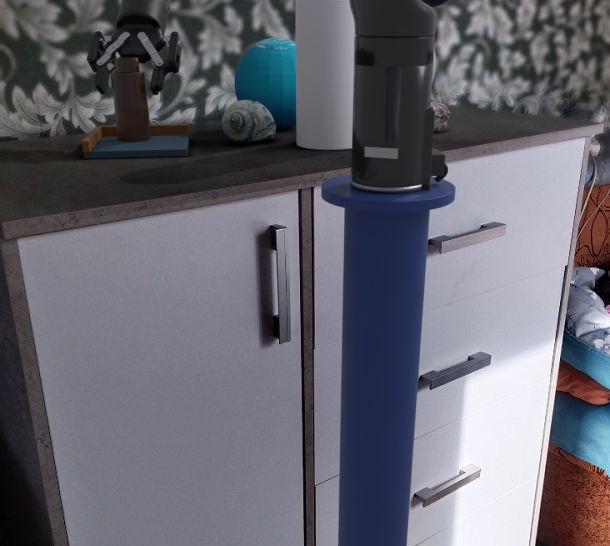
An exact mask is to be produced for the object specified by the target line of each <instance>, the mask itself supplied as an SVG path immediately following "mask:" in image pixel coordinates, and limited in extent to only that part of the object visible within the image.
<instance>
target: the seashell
mask: <svg viewBox="0 0 610 546" xmlns="http://www.w3.org/2000/svg"><path fill="white" fill-rule="evenodd" d="M221 128H222V131H223V134H224V136H225V137H226V139H227V140H229V141H230V142H232V143H234V144H238V145H243V144H248V143H253V142H259V141H264V140H272V141H276V137H277V135H276V130H277V129H276V124H275V122H274V119H273V117H272V115H271V114H270V112H269V111H268V110H267V108H266V107H264V106H263V105H262V104H260V103H259V102H256V101H252V100H241V101H238V100H237V101H235V102H233V103H230V105H229V106H228V107H227V108H226V109H225V111H224V113H223V115H222V118H221Z"/></svg>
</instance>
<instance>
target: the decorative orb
mask: <svg viewBox="0 0 610 546" xmlns="http://www.w3.org/2000/svg"><path fill="white" fill-rule="evenodd" d="M233 85H234V94H235V97H236V100H237V101H241V100H252V101H256V102H259V103H260V104H262V105H263V106H264V107H266V108H267V110H268V111H269V112H270V114H271V115H272V117H273V119H274V122H275V124H276V130H285V129H289V128H292V127H296V41H294V40H292V39H288V38H285V37H269V38H266V39H265V38H264V39H261V40H260V41H257V42H255V43H254V44H253V45H252V46H250V47H249V48H248V49H247V50H246V52H244V54H243V55H242V56H241V58H240V60H239V62H238V64H237V67H236V69H235V73H234V84H233Z"/></svg>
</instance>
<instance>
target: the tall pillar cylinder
mask: <svg viewBox="0 0 610 546" xmlns="http://www.w3.org/2000/svg"><path fill="white" fill-rule="evenodd" d="M294 4H295V15H294V16H295V42H296V125H295V129H296V130H295V132H296V133H295V135H296V139H295V140H296V145H297V146H298V147H300V148H304V149H309V150H319V151H320V150H321V151H337V150H338V151H339V150H340V151H341V150H350V149H351V150H352V122H353V79H354V37H355V36H356V35H355V34H354V33H355V26H354V18H353V15H352V12H351V8H350V2H349V0H294Z"/></svg>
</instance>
